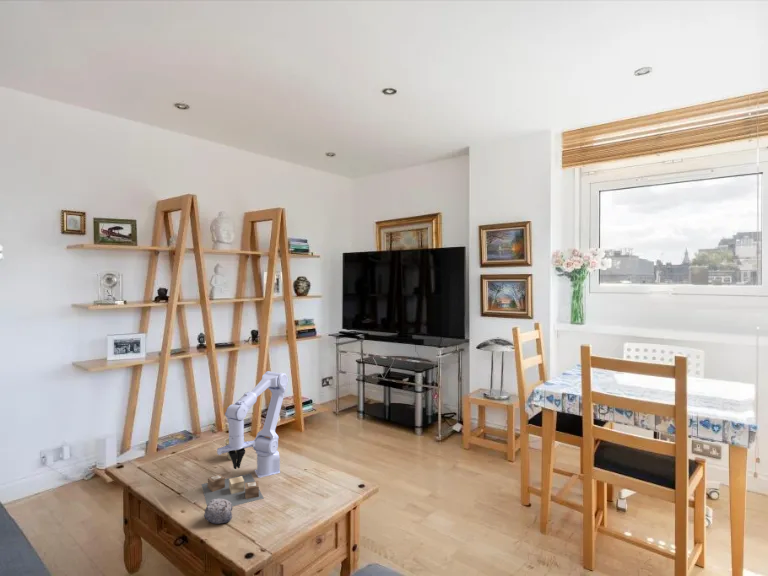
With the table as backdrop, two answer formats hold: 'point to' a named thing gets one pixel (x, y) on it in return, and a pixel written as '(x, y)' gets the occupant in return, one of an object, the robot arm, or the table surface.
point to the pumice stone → (218, 511)
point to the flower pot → (228, 444)
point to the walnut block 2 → (251, 490)
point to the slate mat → (226, 494)
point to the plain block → (236, 484)
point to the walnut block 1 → (216, 482)
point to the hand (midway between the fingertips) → (236, 467)
